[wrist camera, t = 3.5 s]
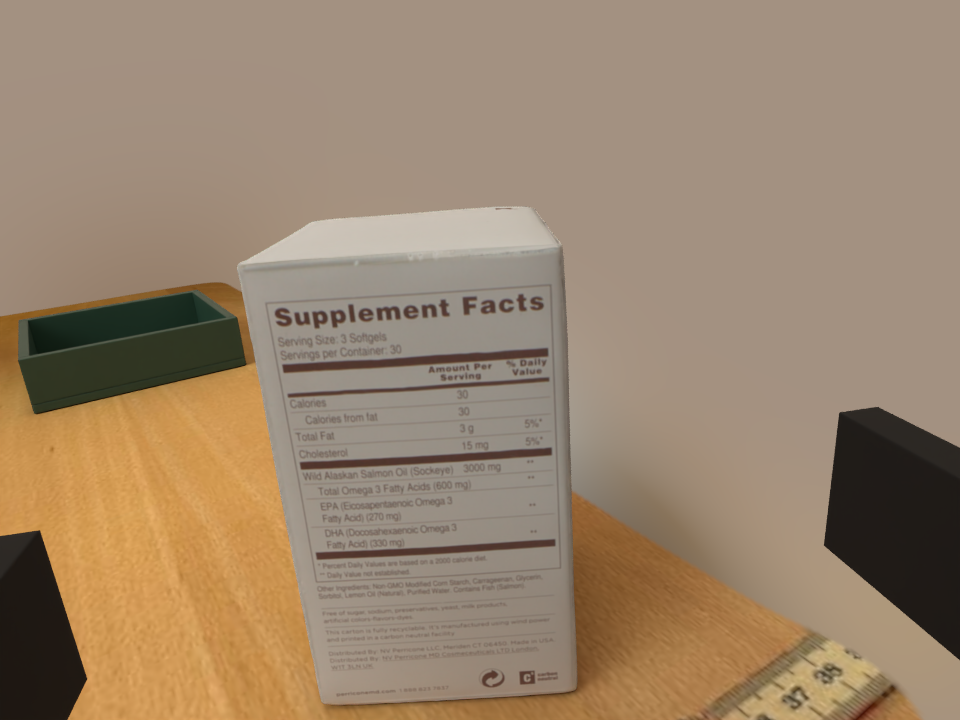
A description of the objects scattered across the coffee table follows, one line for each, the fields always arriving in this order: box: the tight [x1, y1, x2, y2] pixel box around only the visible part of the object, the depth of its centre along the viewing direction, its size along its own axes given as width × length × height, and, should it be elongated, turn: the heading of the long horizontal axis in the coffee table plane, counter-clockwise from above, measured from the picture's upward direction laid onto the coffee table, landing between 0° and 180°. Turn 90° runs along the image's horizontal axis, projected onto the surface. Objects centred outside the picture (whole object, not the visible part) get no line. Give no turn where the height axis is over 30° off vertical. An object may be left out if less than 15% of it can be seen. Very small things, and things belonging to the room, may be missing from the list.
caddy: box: [18, 290, 246, 414], centre depth 50 cm, size 13×13×4 cm
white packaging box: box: [237, 207, 577, 705], centre depth 20 cm, size 7×7×13 cm
